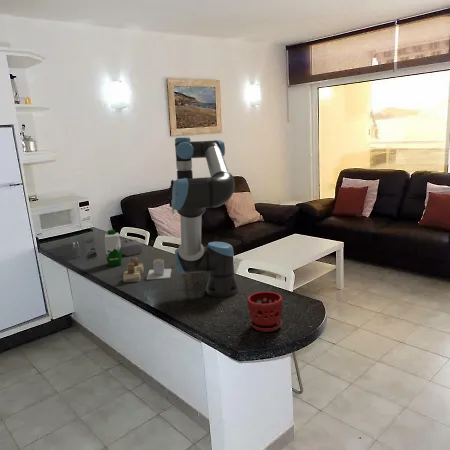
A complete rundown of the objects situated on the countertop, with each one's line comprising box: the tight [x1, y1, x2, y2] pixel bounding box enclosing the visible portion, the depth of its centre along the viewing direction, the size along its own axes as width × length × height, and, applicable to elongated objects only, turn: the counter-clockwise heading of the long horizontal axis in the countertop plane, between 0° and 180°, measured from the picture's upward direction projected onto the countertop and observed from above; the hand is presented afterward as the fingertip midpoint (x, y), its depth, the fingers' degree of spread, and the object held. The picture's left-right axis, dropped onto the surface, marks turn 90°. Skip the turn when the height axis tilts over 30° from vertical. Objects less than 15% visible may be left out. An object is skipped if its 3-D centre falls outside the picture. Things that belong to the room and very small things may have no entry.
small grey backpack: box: [120, 238, 143, 257], centre depth 263 cm, size 15×8×20 cm
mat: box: [146, 268, 172, 281], centre depth 218 cm, size 14×12×1 cm
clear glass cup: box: [152, 258, 165, 276], centre depth 217 cm, size 6×5×8 cm
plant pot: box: [247, 291, 283, 333], centre depth 154 cm, size 13×13×12 cm
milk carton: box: [103, 229, 123, 268], centre depth 237 cm, size 9×9×20 cm
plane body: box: [122, 257, 144, 283], centre depth 216 cm, size 17×8×9 cm, turn 4°
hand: (187, 212), depth 203 cm, fingers open, 13 cm apart
